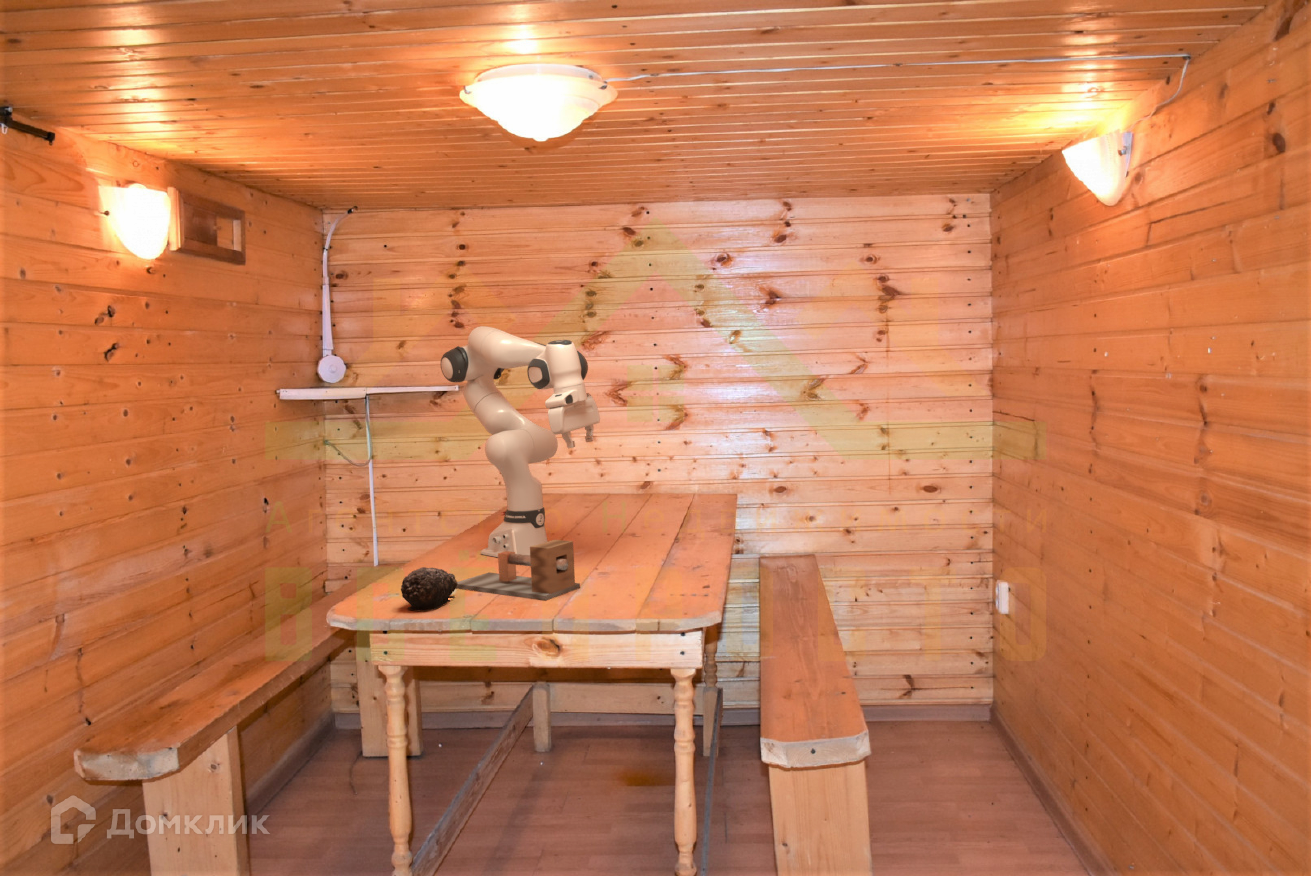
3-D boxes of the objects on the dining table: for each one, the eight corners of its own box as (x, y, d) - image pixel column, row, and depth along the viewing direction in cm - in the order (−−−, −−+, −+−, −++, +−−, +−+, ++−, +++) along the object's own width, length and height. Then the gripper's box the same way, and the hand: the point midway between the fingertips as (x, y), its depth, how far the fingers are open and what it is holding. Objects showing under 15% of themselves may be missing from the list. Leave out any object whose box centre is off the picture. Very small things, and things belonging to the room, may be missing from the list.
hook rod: (499, 580, 246) (497, 553, 246) (507, 577, 249) (506, 551, 248) (561, 588, 235) (560, 560, 234) (569, 585, 237) (568, 557, 237)
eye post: (452, 587, 248) (450, 540, 247) (489, 576, 260) (486, 531, 259) (545, 600, 231) (543, 550, 230) (580, 587, 242) (577, 539, 241)
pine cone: (463, 595, 240) (461, 557, 239) (436, 613, 222) (433, 572, 222) (425, 595, 242) (423, 557, 241) (395, 613, 224) (392, 572, 223)
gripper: (582, 393, 272) (591, 439, 273) (541, 403, 254) (551, 452, 255) (599, 390, 269) (609, 437, 270) (559, 400, 251) (570, 449, 252)
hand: (580, 444), depth 262 cm, fingers open, 8 cm apart
